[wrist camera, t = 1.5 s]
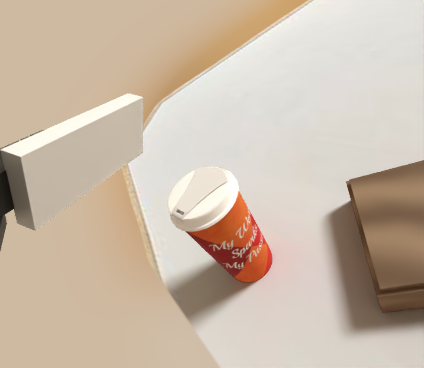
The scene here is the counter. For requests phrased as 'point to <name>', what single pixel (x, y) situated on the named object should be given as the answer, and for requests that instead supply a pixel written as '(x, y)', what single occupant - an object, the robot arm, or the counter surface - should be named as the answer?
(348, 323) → the counter surface
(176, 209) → the paper cup
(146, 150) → the counter surface
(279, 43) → the counter surface
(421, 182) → the walnut plinth
